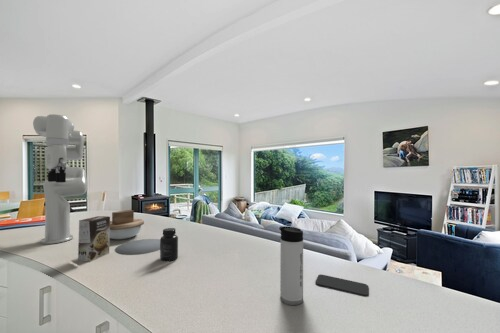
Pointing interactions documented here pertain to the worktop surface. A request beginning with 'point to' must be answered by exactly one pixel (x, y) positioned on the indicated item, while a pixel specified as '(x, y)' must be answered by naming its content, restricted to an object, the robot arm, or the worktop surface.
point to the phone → (342, 285)
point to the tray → (138, 247)
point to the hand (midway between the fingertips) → (56, 181)
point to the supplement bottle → (169, 245)
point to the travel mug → (291, 265)
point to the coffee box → (93, 238)
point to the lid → (124, 220)
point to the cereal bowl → (124, 233)
